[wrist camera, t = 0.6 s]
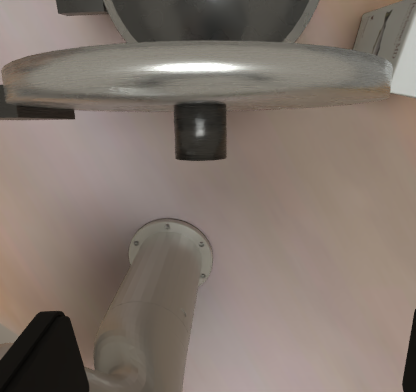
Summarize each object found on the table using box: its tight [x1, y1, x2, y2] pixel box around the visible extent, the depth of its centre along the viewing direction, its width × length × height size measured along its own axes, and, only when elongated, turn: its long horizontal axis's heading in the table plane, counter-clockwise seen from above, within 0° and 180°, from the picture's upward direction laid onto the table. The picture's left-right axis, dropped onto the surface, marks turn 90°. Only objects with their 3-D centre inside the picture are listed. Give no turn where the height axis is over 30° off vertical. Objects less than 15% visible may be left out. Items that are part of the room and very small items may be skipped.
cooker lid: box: [0, 40, 393, 161], centre depth 19 cm, size 19×22×4 cm
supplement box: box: [353, 0, 416, 98], centre depth 30 cm, size 7×7×13 cm
